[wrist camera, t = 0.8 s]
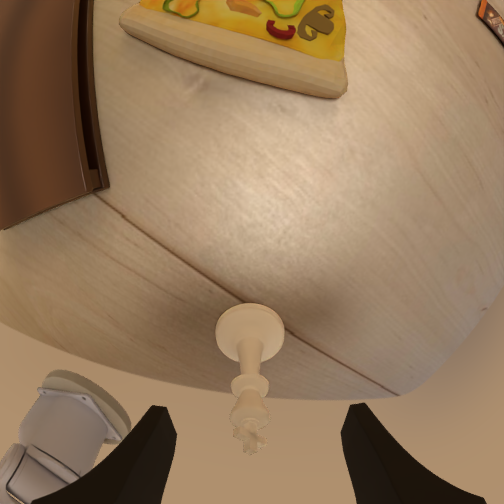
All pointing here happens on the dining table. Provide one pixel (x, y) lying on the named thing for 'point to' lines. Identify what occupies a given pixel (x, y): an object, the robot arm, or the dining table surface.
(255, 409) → the chess piece
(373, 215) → the dining table surface
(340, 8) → the pizza slice
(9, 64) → the stand
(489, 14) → the chocolate bar
